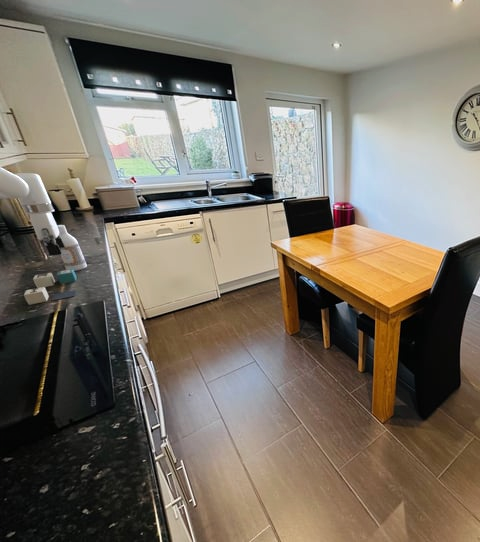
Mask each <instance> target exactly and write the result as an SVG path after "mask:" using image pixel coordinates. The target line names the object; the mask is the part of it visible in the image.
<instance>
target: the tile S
mask: <svg viewBox="0 0 480 542" xmlns="http://www.w3.org/2000/svg"><path fill="white" fill-rule="evenodd" d="M56 277H57V279H58V281H59V284H60V285H63V284H68V283H69V284H70V283H74V282H76V281H77V278H78V277H77V275H76V271H74V269H71V270H66V269H65V270H59V271H57V273H56Z"/></svg>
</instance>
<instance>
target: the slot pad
mask: <svg viewBox="0 0 480 542" xmlns="http://www.w3.org/2000/svg"><path fill="white" fill-rule="evenodd" d="M76 292H77V290H75V289H73V290H69V291H64V292H58V293H54V294H53V295H52V298H51V302H54V301H58V300H59V301H60V300H63V299H64V300H65V299H68V298H73V297H75V296H76Z"/></svg>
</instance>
